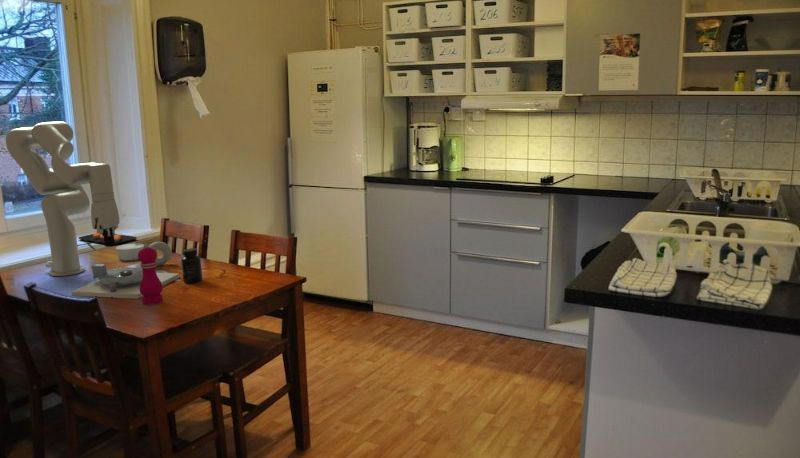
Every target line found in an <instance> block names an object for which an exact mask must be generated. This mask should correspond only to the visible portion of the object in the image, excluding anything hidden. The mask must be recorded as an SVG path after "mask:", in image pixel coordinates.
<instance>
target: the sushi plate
mask: <svg viewBox="0 0 800 458" xmlns="http://www.w3.org/2000/svg"><path fill="white" fill-rule="evenodd" d="M78 239H79V240H82V241H83V240H84V241H85V242H86V243H82V244H77V247H80V246H87V245H89V247H90V248H91V249H92V250H94V251H96V250H97V249H96V248H95V247H94V246H93V245H91V244H96V243H97V244H98V243H101V244H105V243H104V237H103V236H102V234H101V233H97V231H95V232H94V233H92V234H86V235H82V236H79V237H78ZM136 239H137V236H134V235H133V236H132V235H126V234H121V233H119V234H118V233H115V234H114V240H115V245H119V244H124V243H128V242H130V241H134V240H136ZM88 241H89V242H88Z"/></svg>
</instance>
